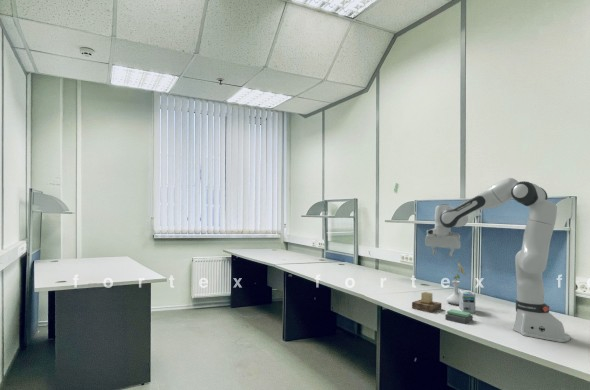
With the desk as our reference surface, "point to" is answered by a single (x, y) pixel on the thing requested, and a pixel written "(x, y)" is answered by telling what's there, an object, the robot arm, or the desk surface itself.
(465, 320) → the block
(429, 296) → the block
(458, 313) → the button
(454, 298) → the flower in vase
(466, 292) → the light bulb box
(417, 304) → the brown square frame
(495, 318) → the desk surface
